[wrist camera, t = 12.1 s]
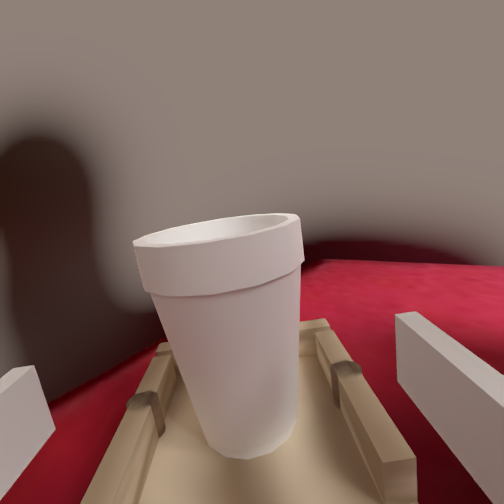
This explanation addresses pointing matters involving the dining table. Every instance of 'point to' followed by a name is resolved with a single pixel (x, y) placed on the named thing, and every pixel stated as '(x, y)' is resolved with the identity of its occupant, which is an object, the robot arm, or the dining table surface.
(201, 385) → the foam cup
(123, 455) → the cradle
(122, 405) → the dining table surface
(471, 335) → the dining table surface
